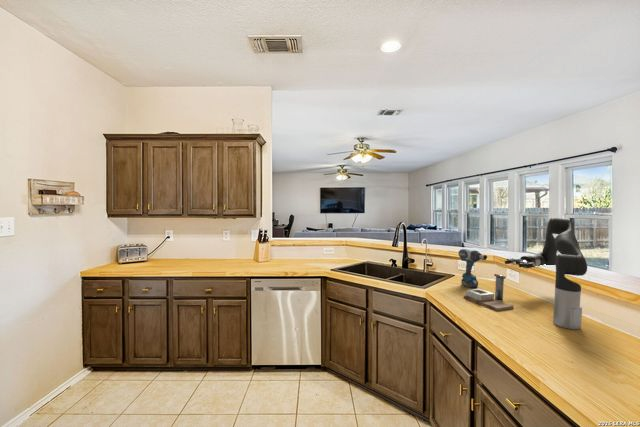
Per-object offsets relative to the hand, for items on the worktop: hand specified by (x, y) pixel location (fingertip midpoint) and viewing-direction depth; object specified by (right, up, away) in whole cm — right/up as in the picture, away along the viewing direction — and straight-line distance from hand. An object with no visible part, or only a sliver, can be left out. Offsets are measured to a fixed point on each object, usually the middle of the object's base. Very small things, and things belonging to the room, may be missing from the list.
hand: (512, 263), depth 177 cm
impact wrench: (-13, -19, +22) cm, 32 cm away
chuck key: (-10, -20, -3) cm, 23 cm away
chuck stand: (-21, -20, -11) cm, 31 cm away
